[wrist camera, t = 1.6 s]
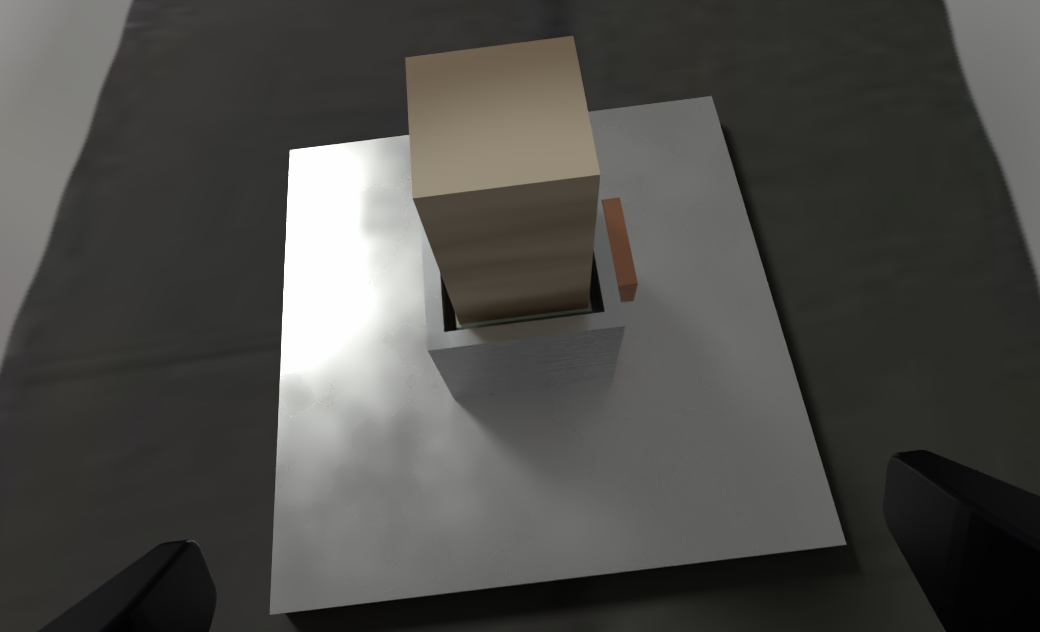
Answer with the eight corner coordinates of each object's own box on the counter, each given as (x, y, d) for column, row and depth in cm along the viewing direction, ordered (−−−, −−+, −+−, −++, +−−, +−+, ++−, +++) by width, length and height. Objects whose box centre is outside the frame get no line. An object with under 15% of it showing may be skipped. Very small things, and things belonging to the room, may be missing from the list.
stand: (831, 547, 21) (927, 529, 15) (285, 613, 21) (187, 619, 16) (705, 115, 28) (740, -1, 23) (300, 167, 28) (238, 64, 23)
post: (586, 357, 22) (606, 177, 13) (473, 371, 22) (408, 203, 13) (570, 257, 24) (576, 32, 14) (464, 271, 24) (400, 55, 14)
